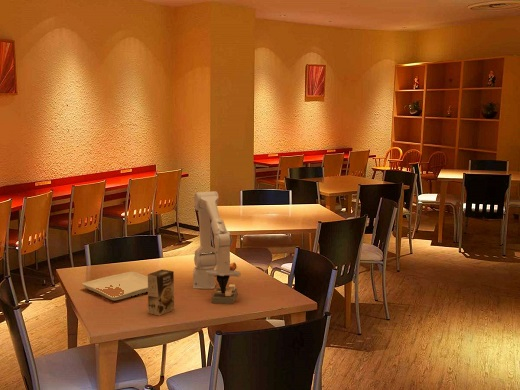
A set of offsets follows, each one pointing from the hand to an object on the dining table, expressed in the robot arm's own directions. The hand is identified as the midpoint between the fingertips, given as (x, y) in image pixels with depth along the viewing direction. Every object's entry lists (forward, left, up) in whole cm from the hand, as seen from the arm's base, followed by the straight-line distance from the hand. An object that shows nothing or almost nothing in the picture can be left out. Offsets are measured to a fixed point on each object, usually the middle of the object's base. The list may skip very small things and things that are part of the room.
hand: (223, 292), depth 250 cm
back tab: (+3, +7, -1) cm, 8 cm away
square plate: (-47, +11, -4) cm, 49 cm away
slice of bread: (-7, +45, -4) cm, 46 cm away
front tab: (+2, 0, -1) cm, 2 cm away
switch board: (0, +4, -4) cm, 5 cm away
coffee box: (-23, -14, -4) cm, 27 cm away
